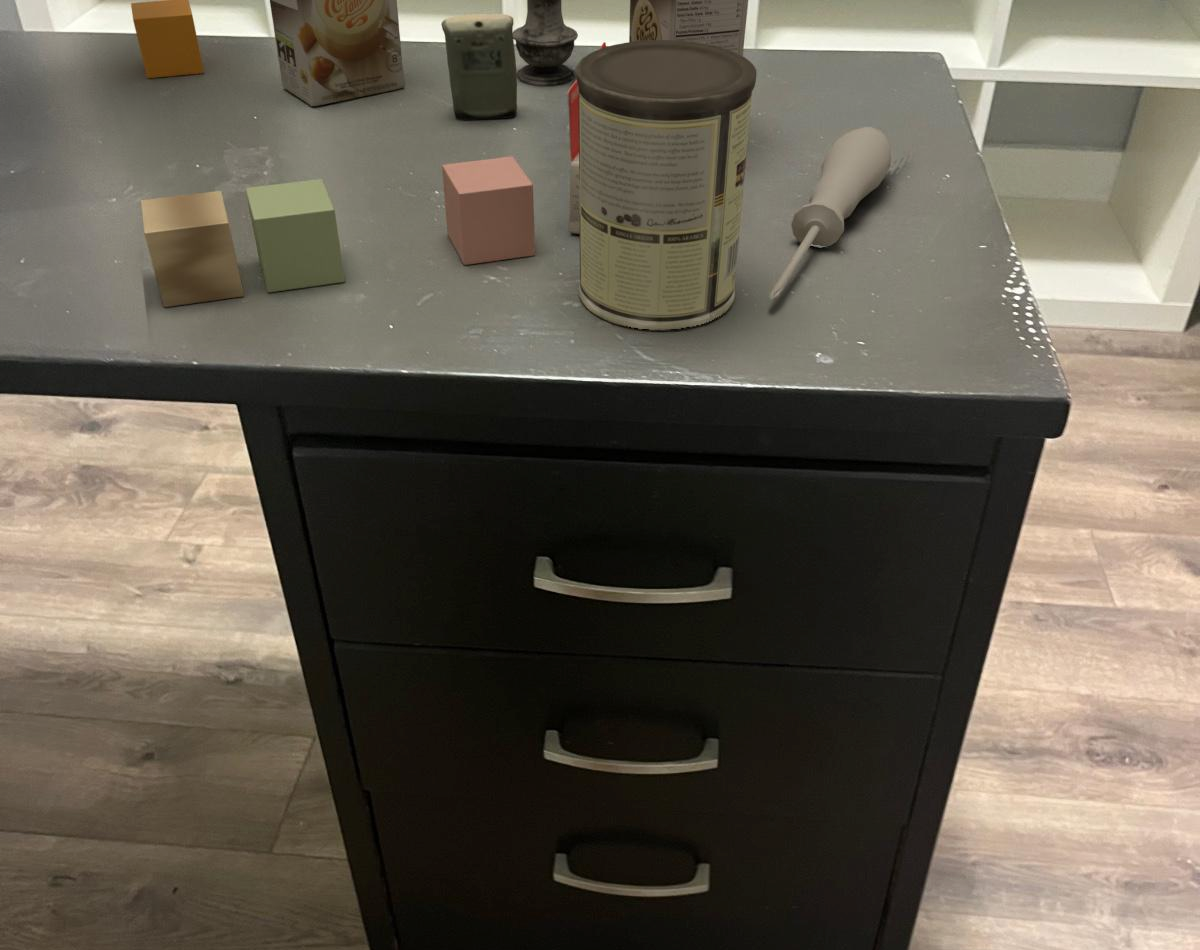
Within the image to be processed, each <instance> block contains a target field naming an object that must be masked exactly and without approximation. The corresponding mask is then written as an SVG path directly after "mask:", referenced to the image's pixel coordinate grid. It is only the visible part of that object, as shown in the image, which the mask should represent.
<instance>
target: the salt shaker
mask: <svg viewBox="0 0 1200 950" xmlns="http://www.w3.org/2000/svg"><path fill="white" fill-rule="evenodd" d="M526 7H527V12H526V17H525V22H524V23H525V24H523V26H520V27H517V28H515V29H513V30H512V31H513V41H515V48H516V50H517V52H518V55H519V57H520V58H521V59H522V60H523V61H524V63H526V65H524V66H523V67H521V68H520V69H519V70H518V71H517V80H519V81H520V82H522V83H524V84H528V85H533V86H544V87H549V86H560V85H563V84H568V83H569V82H571V81H573V80H574V79H575V76H576V74H575V71H573V69H571V68H569V67H568V66H567V65H565V63H566V62H567V61H568V60H569V59H570V57H572V53H573V51H574V48H575V41H576V40H577V39H578V37H579V34H578V31H577V30H576V29H574V28H572V27H570V26H567V25H566V24H565V22H564V17H563V13H562V12H563V11H562V0H526ZM573 78H574V79H573Z"/></svg>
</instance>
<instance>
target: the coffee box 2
mask: <svg viewBox="0 0 1200 950" xmlns="http://www.w3.org/2000/svg"><path fill="white" fill-rule="evenodd" d="M748 8H749V0H629V31H628V32H629V33H628V42H634V41H645V40H676V41H689V42H697V43H703V44H708V45H713V46H718V47H721V48H724V49H727V50H730V51H733V52H735V53H737V54H739V55H741V56H743V57H744V47H745V37H746V29H747V19H748Z"/></svg>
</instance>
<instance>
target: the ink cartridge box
mask: <svg viewBox="0 0 1200 950" xmlns="http://www.w3.org/2000/svg"><path fill="white" fill-rule="evenodd" d="M605 47H607V43H606V42H605V41H604V42H602V44H601V45H600V47H599V48H598V50H599V49H602V48H605ZM566 96H567V118H568V138H569V140H568V141H569V156H570V157H569V159H570V167H569V211H568V212H569V213H568V214H569V215H568V232H570V233H571V234H575V235H576V234H577V235H580V234H579V232H580V189H579V86H578V84H577V78H576V79H575V81H574V82H573V84H572V85H571V86H570V88H569V89H568V90H567V93H566Z"/></svg>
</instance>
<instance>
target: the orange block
mask: <svg viewBox="0 0 1200 950" xmlns="http://www.w3.org/2000/svg"><path fill="white" fill-rule="evenodd" d="M130 7H131V16H132V21H133V25H134V30H135V33H136V34H135V35H136V37H137V41H138V42H137V43H138V46H139V50H140V51H139V52H140V54H141V59H142V62H143V67H144V71H145V76H146V79H156V78H169V77H178V76H179V77H180V76H189V74H190V75H199V73H200V74H204V73H205V69H204V65H203V64H204V63H203V59H202V56H201V55H202V54H201V50H200V45H199V41H198V36H197V30H196V25H195V21H194V18H193V17H194V16H193V12H192V7H191V3H190V1H189V0H153V1H141V2H131V3H130Z"/></svg>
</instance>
